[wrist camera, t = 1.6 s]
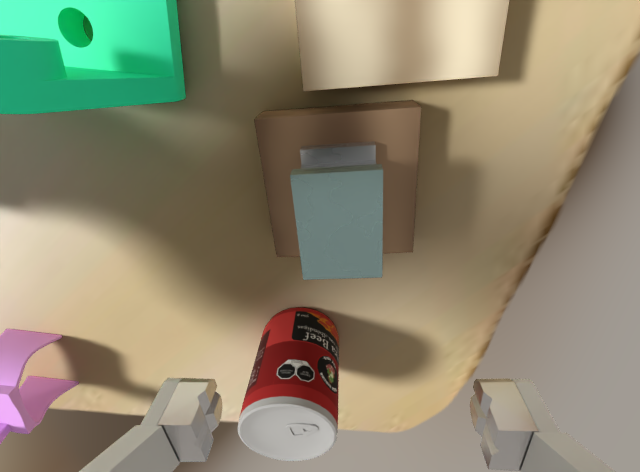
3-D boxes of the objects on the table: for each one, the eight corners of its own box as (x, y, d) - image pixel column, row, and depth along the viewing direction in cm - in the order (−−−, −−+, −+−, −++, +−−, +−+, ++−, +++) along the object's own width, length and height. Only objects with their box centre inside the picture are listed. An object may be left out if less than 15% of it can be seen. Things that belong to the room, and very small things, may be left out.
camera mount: (180, -31, 22) (70, -80, 13) (191, 96, 26) (112, 124, 17) (-5, -49, 22) (-237, -109, 13) (33, 80, 26) (-129, 101, 17)
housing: (310, 234, 28) (303, 279, 22) (301, 146, 24) (289, 174, 19) (374, 231, 27) (382, 277, 22) (374, 141, 24) (383, 169, 18)
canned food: (352, 342, 37) (355, 446, 28) (291, 367, 40) (275, 471, 30) (312, 292, 34) (300, 391, 25) (249, 323, 37) (216, 423, 27)
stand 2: (282, 239, 31) (276, 257, 29) (263, 111, 26) (254, 119, 23) (406, 234, 30) (412, 252, 28) (413, 100, 25) (421, 106, 22)
